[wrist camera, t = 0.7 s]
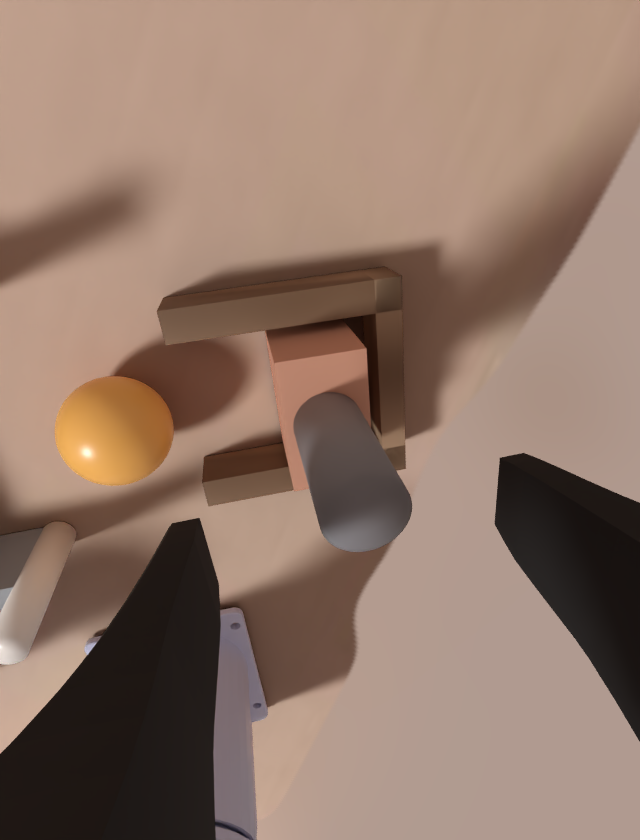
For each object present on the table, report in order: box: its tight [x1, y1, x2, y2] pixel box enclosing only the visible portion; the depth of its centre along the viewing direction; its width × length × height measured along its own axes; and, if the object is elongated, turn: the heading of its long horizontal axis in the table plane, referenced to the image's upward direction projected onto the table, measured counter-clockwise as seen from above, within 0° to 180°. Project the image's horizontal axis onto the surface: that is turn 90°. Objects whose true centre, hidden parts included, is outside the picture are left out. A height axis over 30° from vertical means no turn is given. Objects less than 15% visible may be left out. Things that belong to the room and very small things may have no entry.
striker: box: [265, 319, 412, 552], centre depth 16 cm, size 5×3×9 cm, turn 5°
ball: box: [55, 376, 174, 486], centre depth 18 cm, size 4×4×4 cm
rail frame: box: [157, 267, 406, 506], centre depth 19 cm, size 8×8×2 cm
